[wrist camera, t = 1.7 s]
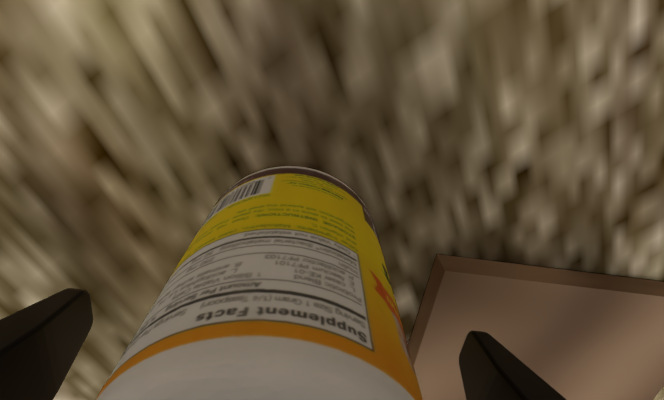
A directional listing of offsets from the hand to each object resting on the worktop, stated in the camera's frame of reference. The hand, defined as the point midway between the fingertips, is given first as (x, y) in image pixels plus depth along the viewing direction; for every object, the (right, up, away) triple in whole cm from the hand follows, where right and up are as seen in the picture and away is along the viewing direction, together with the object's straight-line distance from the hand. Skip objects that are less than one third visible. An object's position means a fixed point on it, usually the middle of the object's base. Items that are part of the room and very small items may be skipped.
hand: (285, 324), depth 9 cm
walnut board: (+9, -4, +7) cm, 12 cm away
